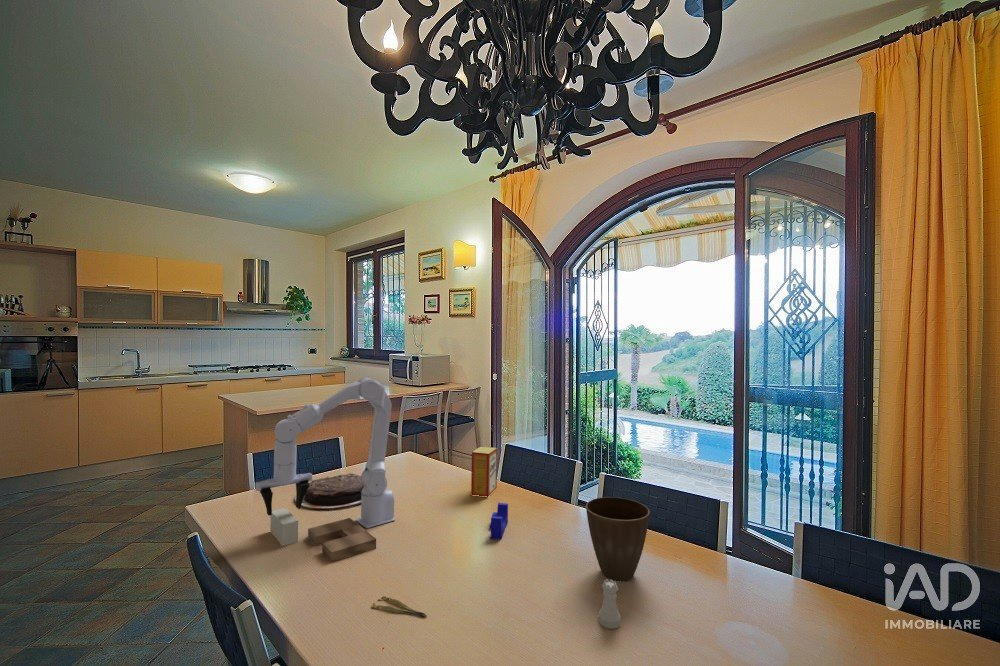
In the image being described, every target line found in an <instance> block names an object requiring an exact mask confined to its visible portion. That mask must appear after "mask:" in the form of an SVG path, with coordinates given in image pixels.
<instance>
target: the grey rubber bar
mask: <svg viewBox="0 0 1000 666" xmlns="http://www.w3.org/2000/svg"><path fill="white" fill-rule="evenodd" d="M269 529H270V530H269V532H270V531H271V532H270V533H271V534H272V535H273V537H274V536H275V537H274V538H275V539H276V541H277V542H278V541H279V542H280V543H279V542H278V543H279V544H280V546H282V547H285V546H288V544H289V545H292V544H295V542H296V543H299V520H298V519H297V517H295V516H294V515H293V514H292V513H291V512H290V510H288V509H287V508H286V507H283V508H279V509H275V510H272V515H270V526H269ZM284 545H285V546H284Z"/></svg>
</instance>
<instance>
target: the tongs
mask: <svg viewBox="0 0 1000 666" xmlns="http://www.w3.org/2000/svg"><path fill="white" fill-rule="evenodd" d="M377 601H382V602H383V601H386V602H388V603H390V604H393V605H396V606H398V607H400V608H397V607H394V606H391V605H380V604H379V605H378V604H375V602H372V605H371V606H370V607H371V608H372V609H376V610H382V611H387V612H394V613H401V614H406V615H407V614H408V615H412V616H415V617H416V616H417V617H420V618H425V619H427V618H428V616H427V615H426V613H424V612H421V611H418V610H416V609H413V608H410V607H409V606H407V604H405V603H404V602H403V601H400V600H398V599H395V598H392V597H388V596H386V595H385V596H384V595H383V596H382V597H380V598H378V599H377ZM401 608H402V609H401Z"/></svg>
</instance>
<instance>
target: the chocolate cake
mask: <svg viewBox="0 0 1000 666" xmlns="http://www.w3.org/2000/svg"><path fill="white" fill-rule="evenodd" d="M309 483H310V484H309V488H308V490H307V491H306V493H305V495H304V498H303V501H302V504H301V507H303V508H305V507H306V509H308V508H309V510H320V509H321V510H326V511H333V509H334V510H337V509H342V508H347V507H348V508H353V507H352V506H354V507H357V506H359V505H361V491H362V490H363V488H364V484H363V483H362V481H361V475H359V474H355V473H347V474H339V475H336V476H335V475H334V476H326V477H323V478H318V479H314V480H313V479H312V481H309ZM294 502H295V504H296V495H295V496H294ZM356 505H357V506H356ZM341 507H342V508H341Z"/></svg>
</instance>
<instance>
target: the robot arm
mask: <svg viewBox="0 0 1000 666" xmlns="http://www.w3.org/2000/svg"><path fill="white" fill-rule="evenodd" d="M360 397H361V398H363V399H364V400H366V401H367V402H368V403H369V404H370V405H371V406H372V408H373V409H374V413H373V421H372V427H371V435H370V443H369V450H368V458H367V460H366V463H365V467H364V470H363V471H362V473H361V475H360V476H361V481H362V483H363V484H364V488H363V490H362V491H361V504H360V517H357V518H355V522H356V523H359V524H361V525H360V526H363V528H365V529H369V528H373V527H376V526H380V525H384V524H387V523H390V522H394V521H396V518H395V497H394V496H395V495H394V493H393V491H392V489H390V488H387V487H388V480H387V478H386V463H385V460H386V453H387V447H388V446H387V445H388V438H389V432H390V431H389V430H390V423H391V414H392V408H393V404H392V402H391V399H390V397H389V396H388V393H387V392H386V388H385V386H383V385H382V384H381V383H380V382H379V381H378V380H376V379H373V378H371V377H368V376H366V377H365V376H364V377H361V378H359V379H358V381H357V380H355V381H352V383H349V384H348V385H346V386H344V387H343V388H341V389H340V390H338V391H337V392H335V393H334V394H332V395H331V396H329V397H328V398H326V399H325V400H323V401H321V402H320V403H317V404H316V403H310V404H307V403H306V404H304V405H303V406H302V409H300V410H298V411H297V412H295V413H293V414H288V415H287V416H286V417H287V419H286V418H284V419H282V420H279V422H277V423H276V425H275V426H274V427H275V428H274V431H273V432H274V436H275V440H274V448H273V449H274V451H273V452H274V453H273V454H274V455H273V478H268V479H265V480H261V481H256V482H255V485H254V486H255V490H256V492H259V493H260V494H261V497H262V498H263V501H264V505H265V509H266V514H267V516H271V515H272V511H273V510H272V508H273V505H272V504H273V503H272V502H273V494H274V492H273V491H272V488H273V489H274V488H278V487H283V486H289V485H294V484H295V493H296V494H295V496H296V503H295V507H296V508H297V510H300V509H301V508H302V506H301V504H302V501H303V498H304V495H305V493H306V491H307V490H308V488H309V484H310V482H312V481H313V474H312V473H311V472H308V473H298V474H297V454H298V453H297V451H298V449H297V448H298V447H297V446H298V445H297V443H296V442H297V438H298V436H299V434H300V433H301V434H302V433H304V432H305V431H307V430H309V429H310V428H311V427H313V426H315V425H316V424H318V423H320V422H321V421H323V418H324V415H325V414H326V413H328V412H330V411H332V410H333V409H336V408H337V407H338V406H340V405H342V404H343V403H345V402H347V401H350V400H351V401H352V400H354V401H355V400H356V401H357V400H361V398H360Z"/></svg>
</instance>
